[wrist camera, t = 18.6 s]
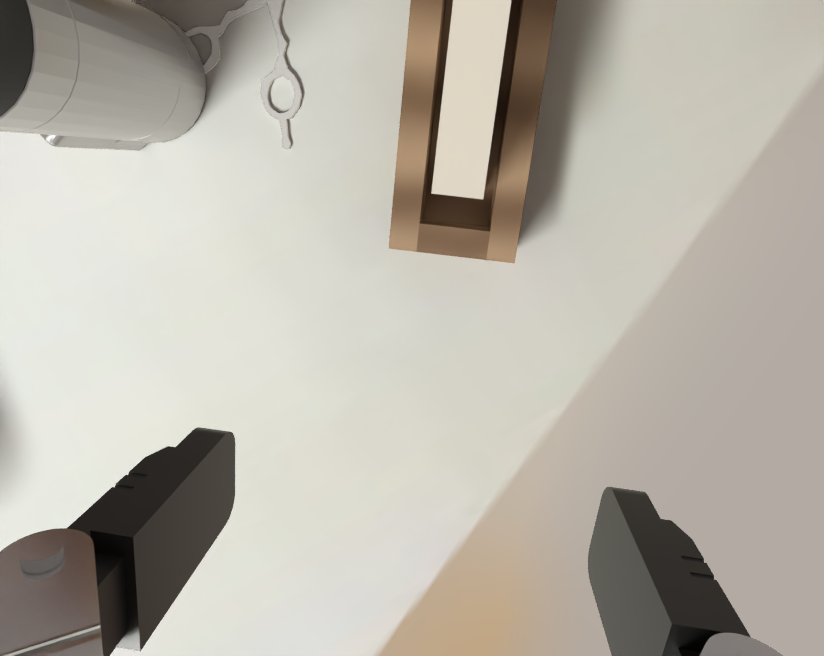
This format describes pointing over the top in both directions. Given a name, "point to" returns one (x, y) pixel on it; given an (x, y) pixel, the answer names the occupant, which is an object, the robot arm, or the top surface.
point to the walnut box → (510, 147)
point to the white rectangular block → (470, 96)
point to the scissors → (281, 67)
